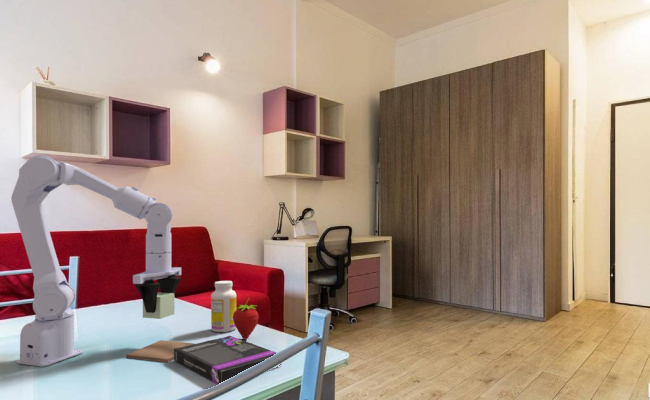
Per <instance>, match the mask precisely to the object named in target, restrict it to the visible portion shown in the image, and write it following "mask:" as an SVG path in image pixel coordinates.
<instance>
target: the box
mask: <svg viewBox="0 0 650 400" xmlns="http://www.w3.org/2000/svg"><path fill="white" fill-rule="evenodd" d="M276 353H277V352H275V351H274V350H271V349H268V348H266V347H262V346H259V345H257V344H254V343H251V342H249V341H245V340H244V339H243V340H242V339H240V338H237V337H234V336H231V335H228V336H223V337H220V338H216V339H211V340H206V341H202V342H198V343H194V344H193V345H189V346H185V347H180V348H174V360H173V361H174V362H175V363H177V364H178V365H180V366H182V367H184V368H186V369H187V370H189V371H191V372H193V373H195V374H197V375H199V376H200V377H202V378H204V379H206V380H208V381H210V382H212V383H213V384H216V385H217V384H219V383H221V382H223V381H225V380H227V379H229V378H231V377H233V376H235V375H237V374H238V373H240V372H242V371H244V370H246V369H248V368H250V367H252V366H254V365H256V364H258V363H260V362H262V361H264V360H265V359H267V358H269V357H271V356H273V355H274V354H276ZM280 365H281V366H282V363H281V364H280ZM280 365H279V366H280ZM277 367H278V366H277ZM277 367H276V368H274V369H273V370H275V369H278V368H279V367H278V368H277Z"/></svg>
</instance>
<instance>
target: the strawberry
mask: <svg viewBox="0 0 650 400" xmlns="http://www.w3.org/2000/svg"><path fill="white" fill-rule="evenodd" d="M249 299H250V298H249V297H248V299H247V300H246V302H248V301H249ZM256 307H258V305H254V304H250V305H248V304H239V306H236V311H235V312H234V314H233V321H234V324H235V326H236V330H237V332H238V333H239V334H240V336H241V337H242V339H243V340H247V339H249V337H250V335H251V334H252V333H253V332H254V330H255V329H256V326H257V325H258V321H259V312H257V308H256Z"/></svg>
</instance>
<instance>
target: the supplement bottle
mask: <svg viewBox="0 0 650 400" xmlns="http://www.w3.org/2000/svg"><path fill="white" fill-rule="evenodd" d="M233 285H234V284H233V281H232V280H219V281H215V282H214V287H215V290H214V291H213V292H212V293H211V295H210V305H211V306H210V310H211V311H210V312H211V313H210V314H211V319H210V320H211V321H210V322H211V323H210V324H211V330H212V331H213V332H215V333H220V332H221V333H228V332H229V331H230V332H232V331H235V330H237V328H236V326H235V324H234V321H233V314H234V312H235V311H236V310H237V308H236V307H237V293H236V291H235V290H233Z"/></svg>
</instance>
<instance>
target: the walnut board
mask: <svg viewBox="0 0 650 400" xmlns="http://www.w3.org/2000/svg"><path fill="white" fill-rule="evenodd" d="M193 344H195V343H192V342H183V341H175V340H174V341H173V340H172V341H171V340H164V339H161V340H158V341H155V342H154V343H151V344H148V345H146V346H144V347H142V348H141V347H140V349H139V348H138V349H136V350H134V351H132V352H129V353H126V358H127V359H128V358H129V359H138V360H144V361H145V360H146V361H153V362H162V363H169V362H172V361H174V348H180V347H185V346H189V345H193Z"/></svg>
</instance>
